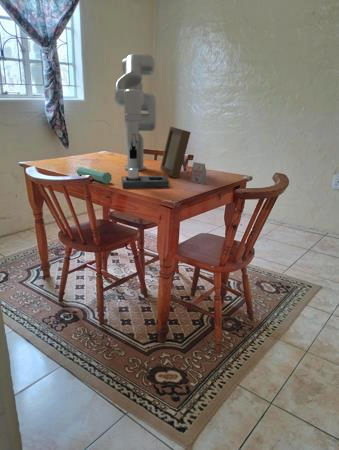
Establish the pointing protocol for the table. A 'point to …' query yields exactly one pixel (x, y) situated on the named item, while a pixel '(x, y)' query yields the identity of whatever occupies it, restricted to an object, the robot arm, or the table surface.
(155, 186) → the block
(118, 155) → the table surface
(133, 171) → the bushing
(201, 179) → the grey upright block
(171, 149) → the photo frame
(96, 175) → the container
